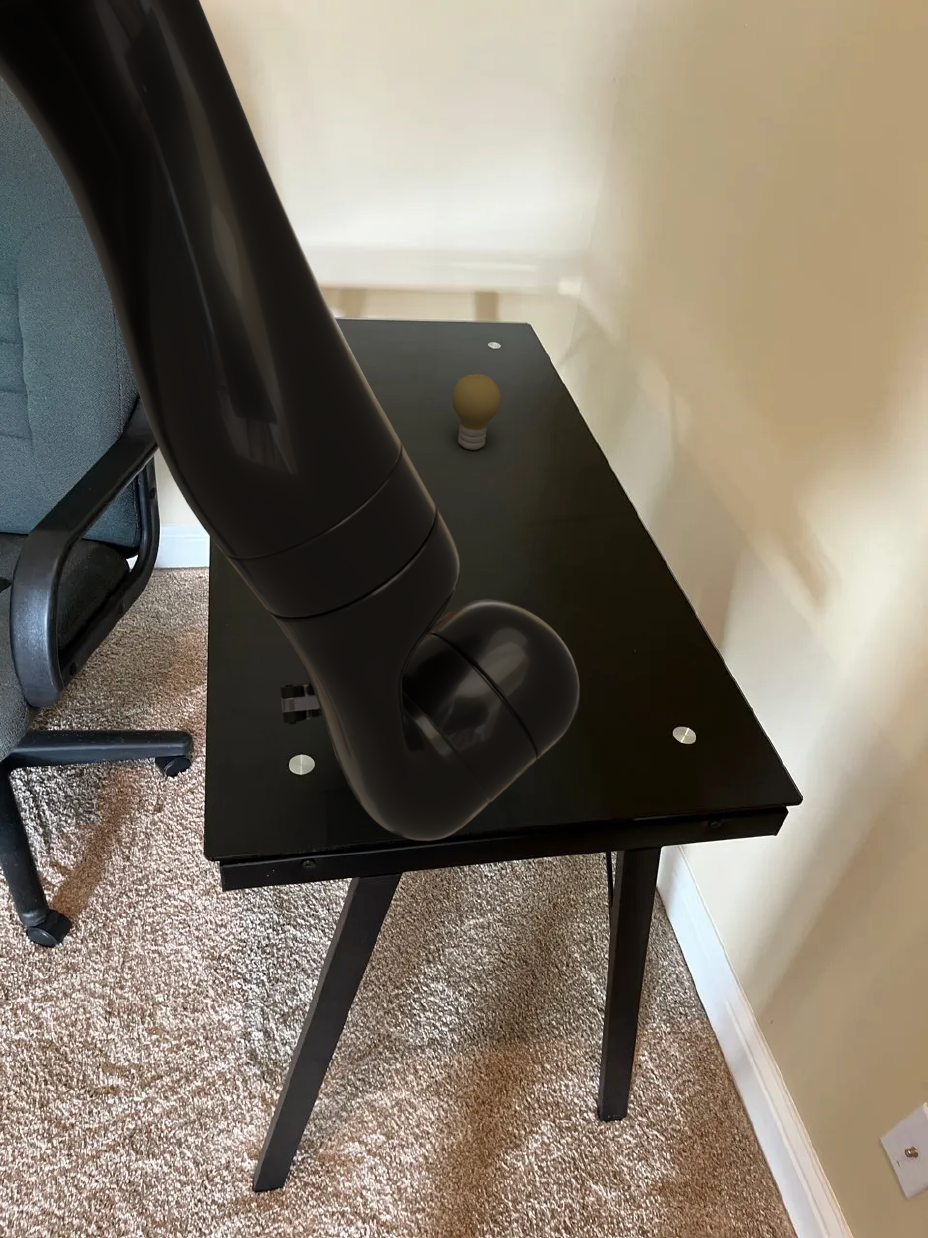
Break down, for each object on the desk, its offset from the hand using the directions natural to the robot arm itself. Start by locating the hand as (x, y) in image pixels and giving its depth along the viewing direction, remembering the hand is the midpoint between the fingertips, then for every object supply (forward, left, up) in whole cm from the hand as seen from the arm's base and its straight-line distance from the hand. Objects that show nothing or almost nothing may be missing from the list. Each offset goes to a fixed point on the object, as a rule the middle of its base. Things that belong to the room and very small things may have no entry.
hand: (360, 689), depth 67 cm
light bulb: (+23, +50, -8) cm, 56 cm away
